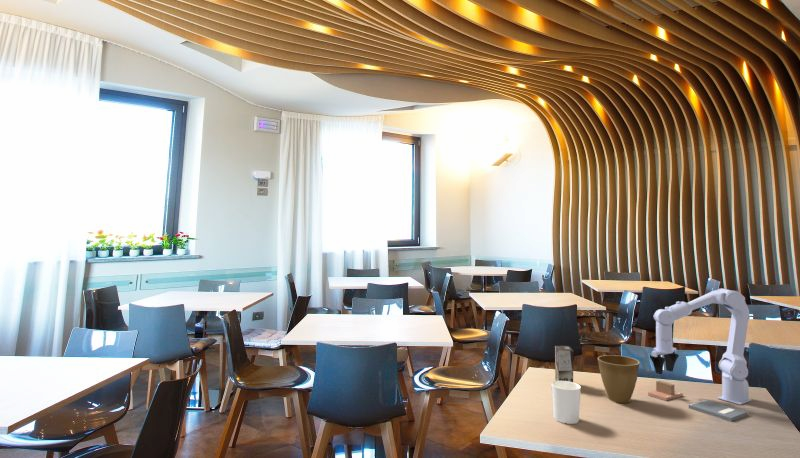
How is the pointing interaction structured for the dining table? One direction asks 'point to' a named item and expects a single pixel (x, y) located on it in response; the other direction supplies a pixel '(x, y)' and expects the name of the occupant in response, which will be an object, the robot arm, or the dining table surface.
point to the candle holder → (566, 401)
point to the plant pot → (618, 376)
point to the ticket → (718, 410)
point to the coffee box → (563, 363)
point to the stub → (665, 391)
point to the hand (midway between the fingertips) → (664, 372)
